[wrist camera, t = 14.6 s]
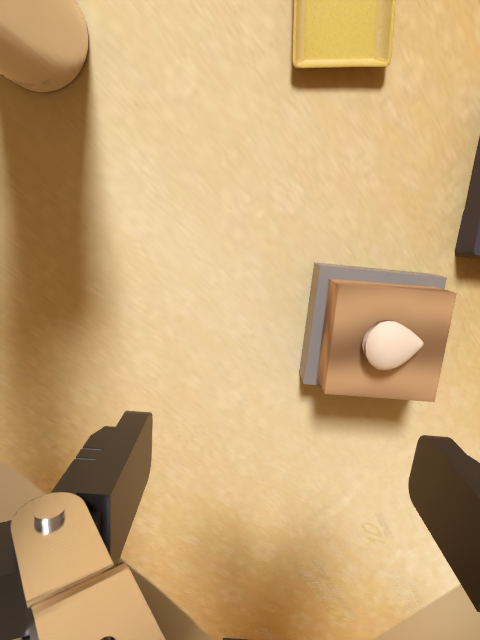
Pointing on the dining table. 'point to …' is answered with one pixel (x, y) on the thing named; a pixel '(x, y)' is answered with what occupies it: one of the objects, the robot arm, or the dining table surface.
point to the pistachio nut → (389, 344)
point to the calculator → (471, 216)
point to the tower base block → (320, 295)
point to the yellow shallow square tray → (342, 33)
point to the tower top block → (355, 319)
